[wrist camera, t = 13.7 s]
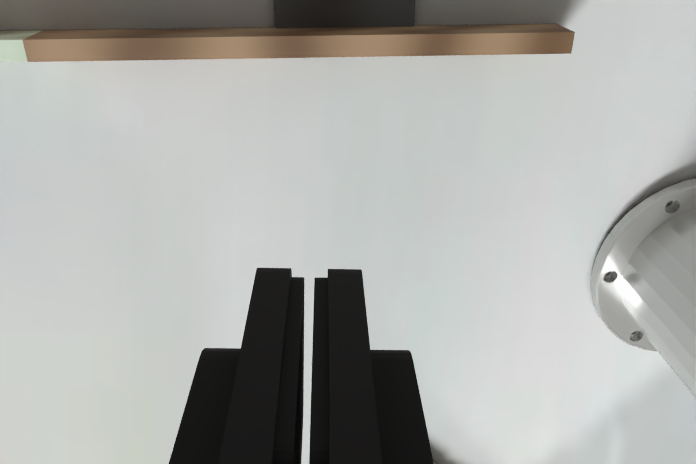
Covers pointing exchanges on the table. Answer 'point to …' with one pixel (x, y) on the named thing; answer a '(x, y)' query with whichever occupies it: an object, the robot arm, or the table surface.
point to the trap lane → (293, 37)
